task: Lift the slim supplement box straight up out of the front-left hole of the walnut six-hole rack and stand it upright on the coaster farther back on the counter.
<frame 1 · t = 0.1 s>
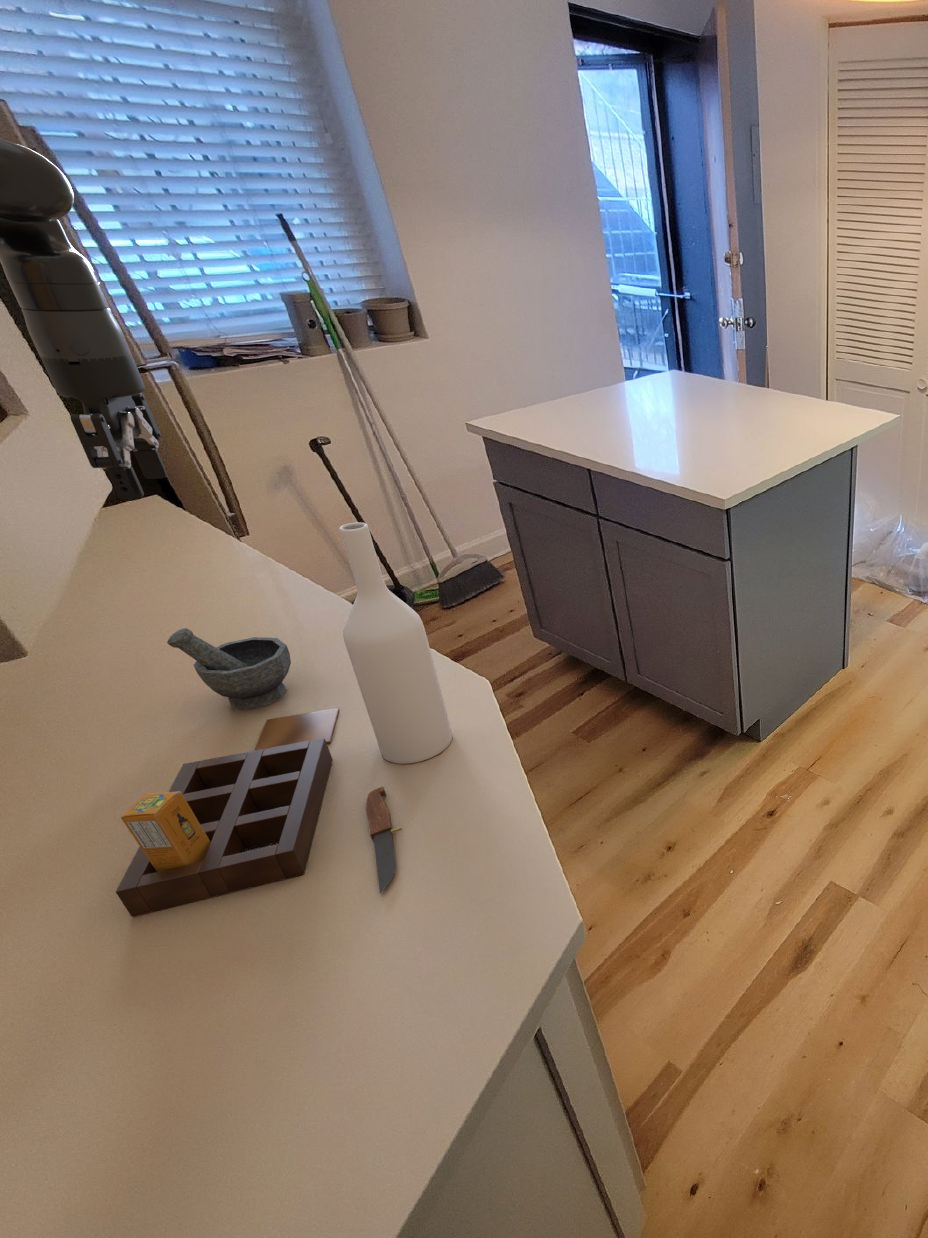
hand: (145, 487, 87), 28 cm above the counter, tool pointing down, fingers open, 8 cm apart
rack: (246, 828, 75), on the counter
supplement box: (195, 877, 70), resting in rack
bottle: (418, 745, 89), on the counter
mortar and pestle: (253, 699, 96), on the counter
knife: (388, 840, 75), on the counter
coaster: (298, 732, 90), on the counter
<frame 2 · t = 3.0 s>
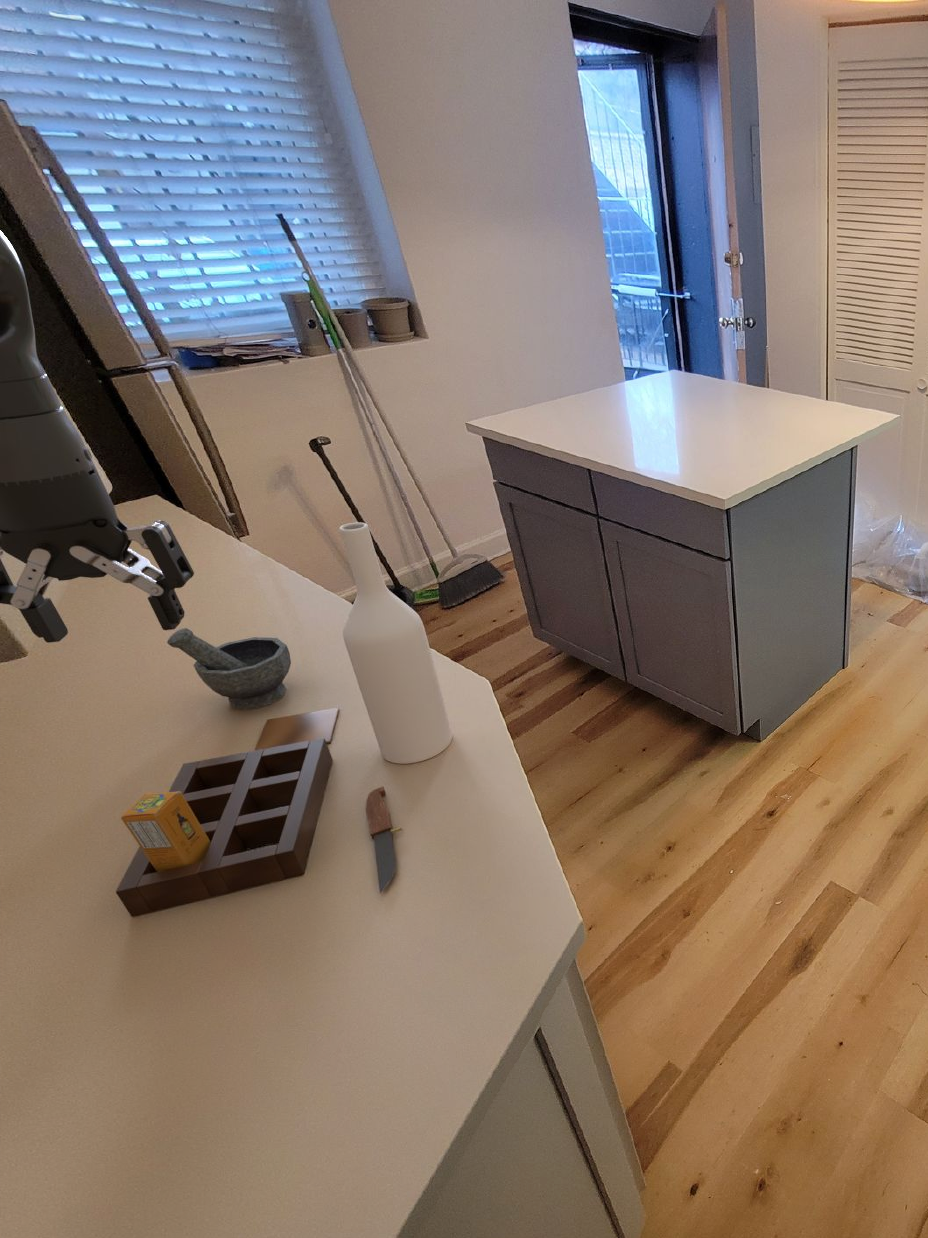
hand: (117, 632, 66), 23 cm above the counter, tool pointing down, fingers open, 8 cm apart
nothing on the counter moved.
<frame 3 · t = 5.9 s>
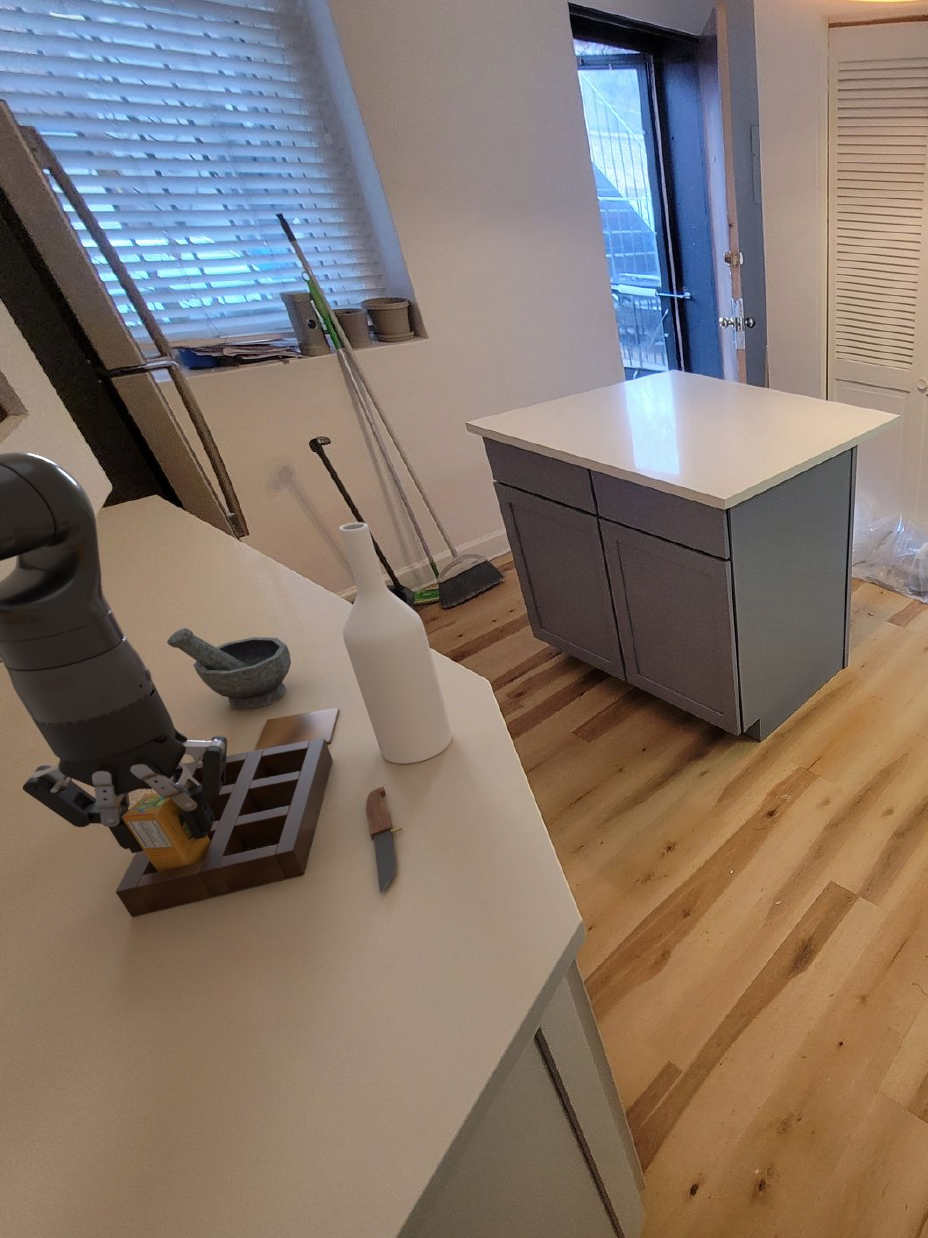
hand: (173, 838, 67), 5 cm above the counter, tool pointing down, fingers closed on supplement box, 4 cm apart
supplement box: (195, 877, 70), resting in rack, touching gripper
everything else where it was.
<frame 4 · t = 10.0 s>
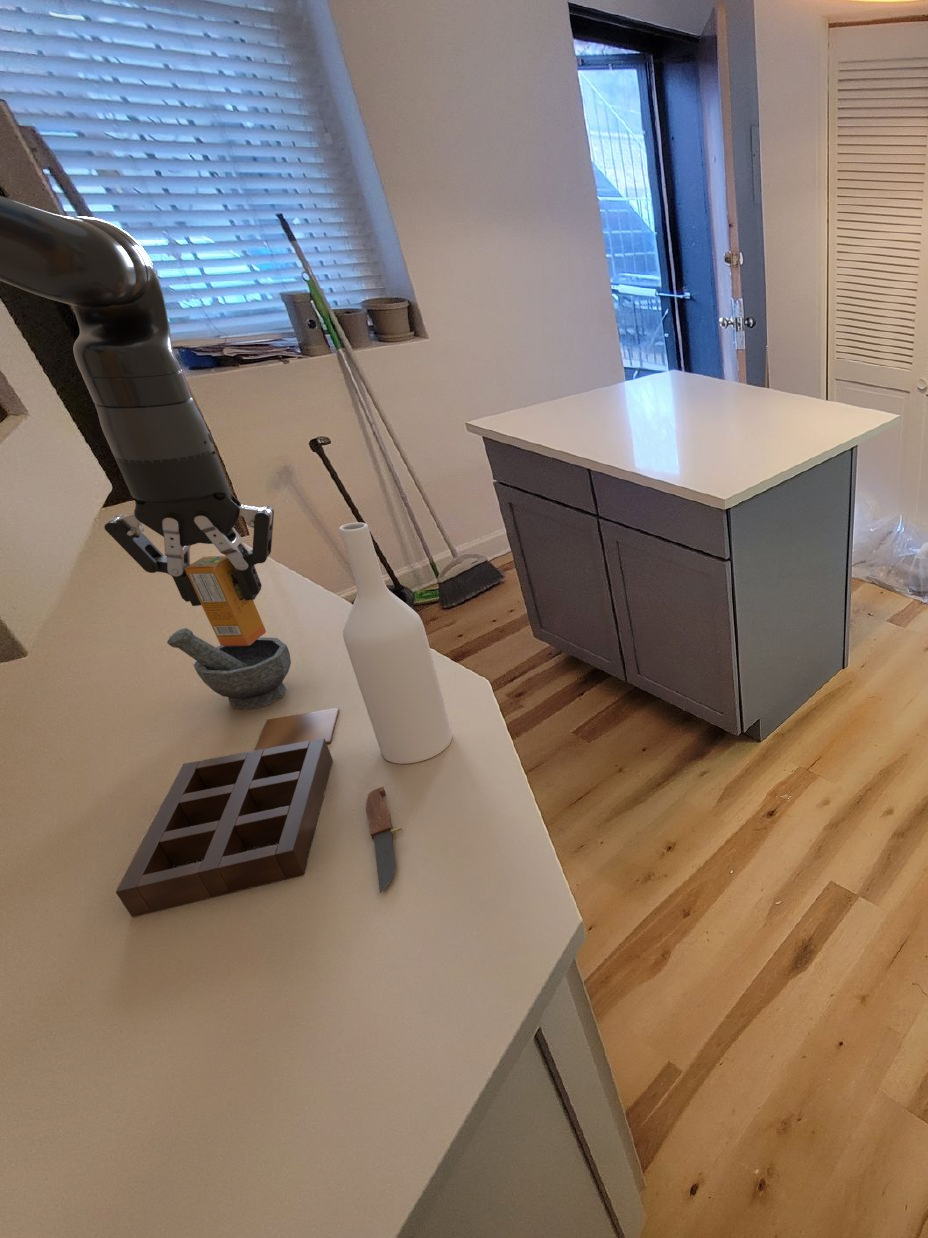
hand: (226, 599, 77), 21 cm above the counter, tool pointing down, fingers closed on supplement box, 4 cm apart
supplement box: (243, 641, 80), point 16 cm above the counter, touching gripper
everything else where it was.
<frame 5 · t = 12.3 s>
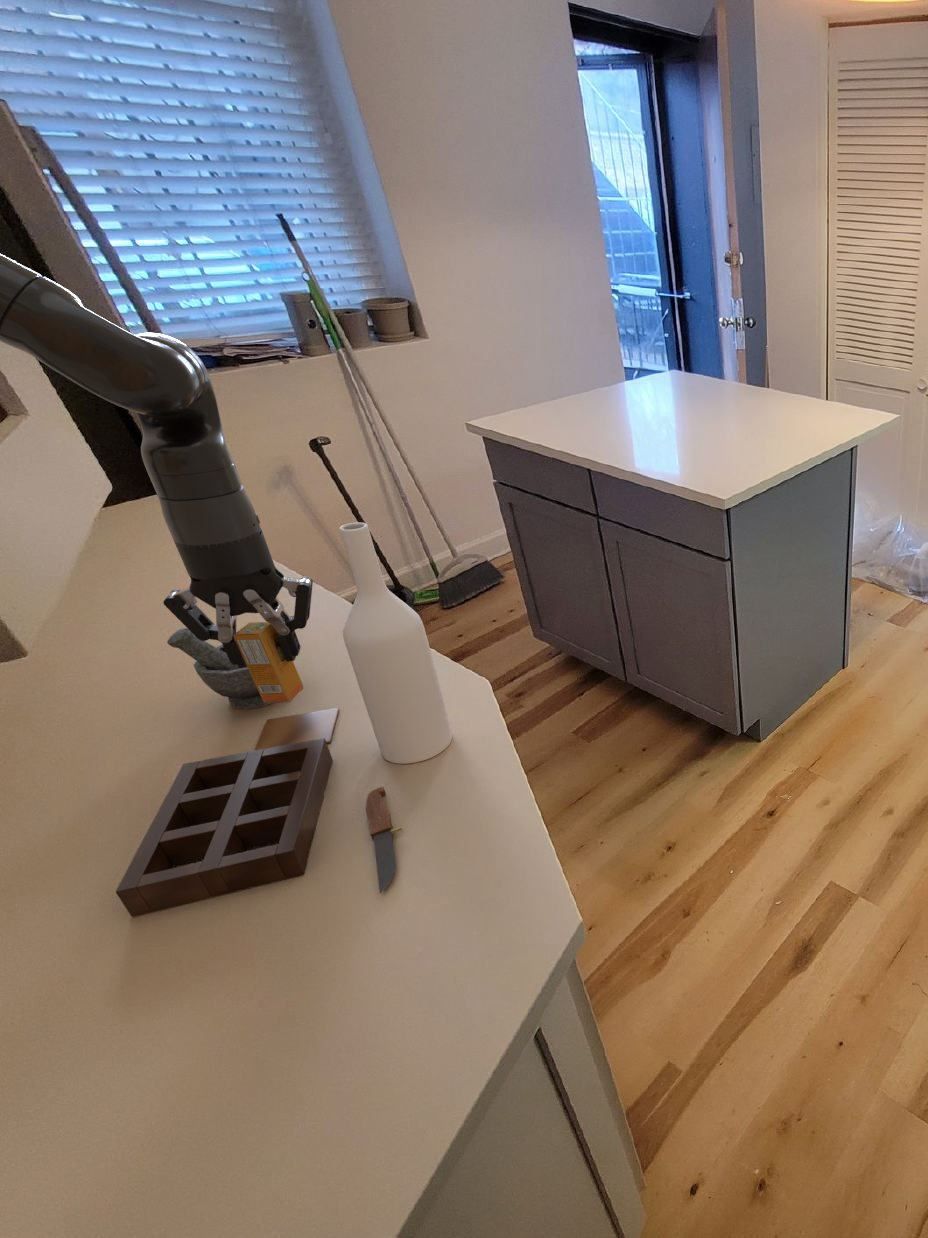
hand: (269, 660, 84), 11 cm above the counter, tool pointing down, fingers closed on supplement box, 4 cm apart
supplement box: (283, 697, 87), point 6 cm above the counter, touching gripper
everything else where it was.
when the fingers open (6 cm above the counter, at t = 14.0 s): supplement box stays where it is, resting on coaster.
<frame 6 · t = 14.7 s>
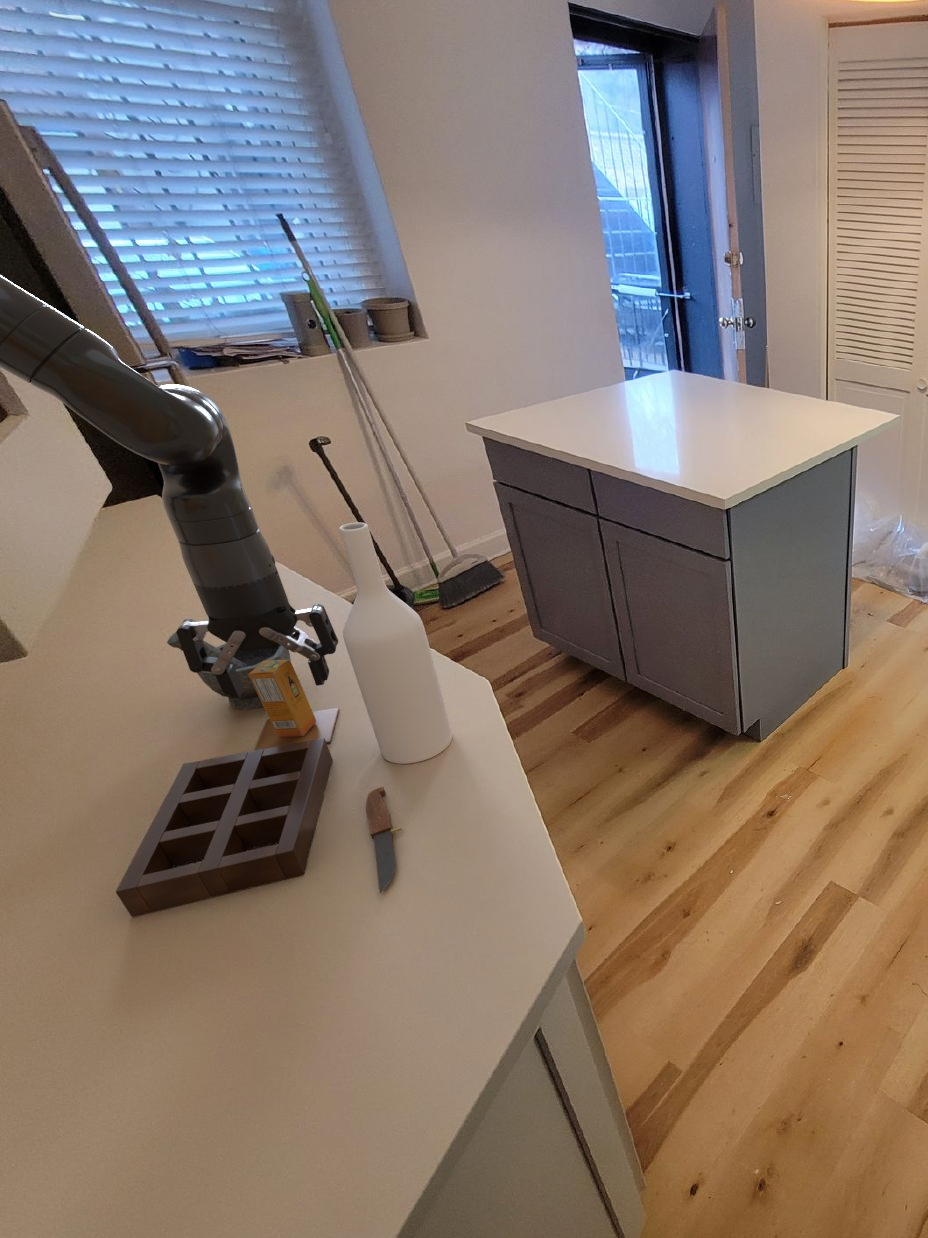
hand: (280, 688, 86), 7 cm above the counter, tool pointing down, fingers open, 8 cm apart
supplement box: (297, 731, 90), resting on coaster
everything else where it was.
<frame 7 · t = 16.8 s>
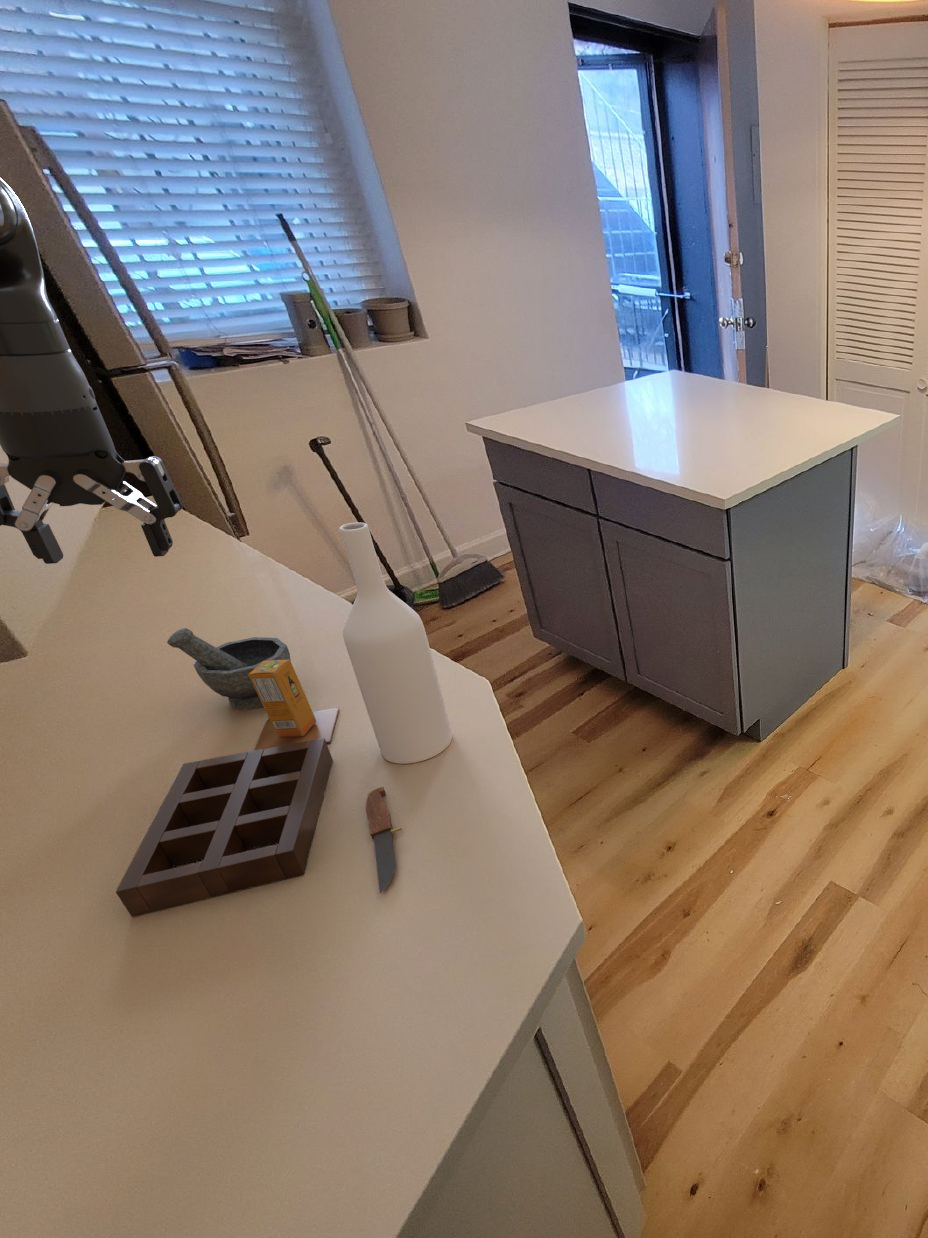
hand: (110, 557, 73), 26 cm above the counter, tool pointing down, fingers open, 8 cm apart
nothing on the counter moved.
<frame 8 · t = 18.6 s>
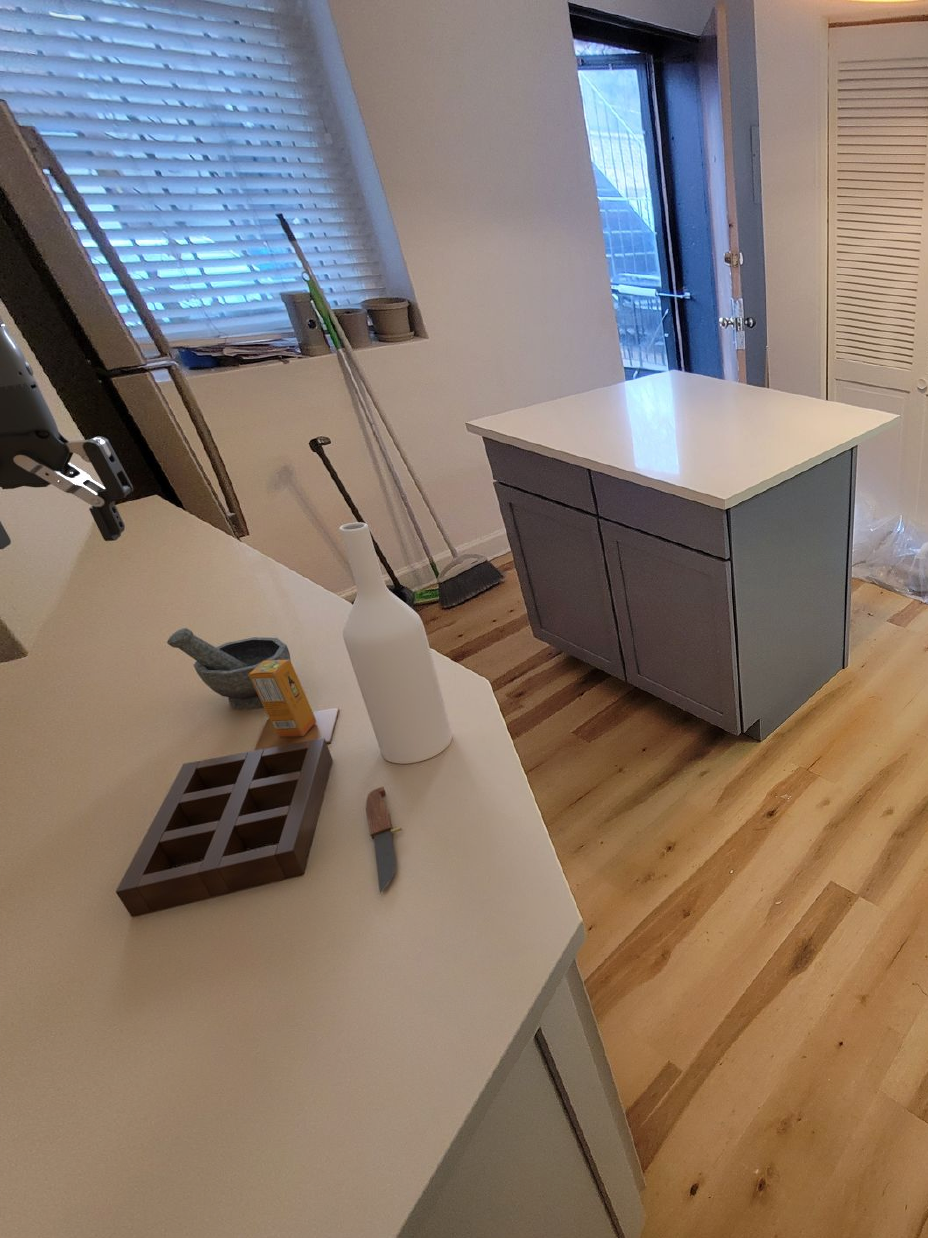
hand: (59, 542, 71), 28 cm above the counter, tool pointing down, fingers open, 8 cm apart
nothing on the counter moved.
at the end: supplement box 0.1 cm off-centre on the coaster, point 0.2 cm above the coaster's base; supplement box tilted 0°; the gripper is holding nothing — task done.
